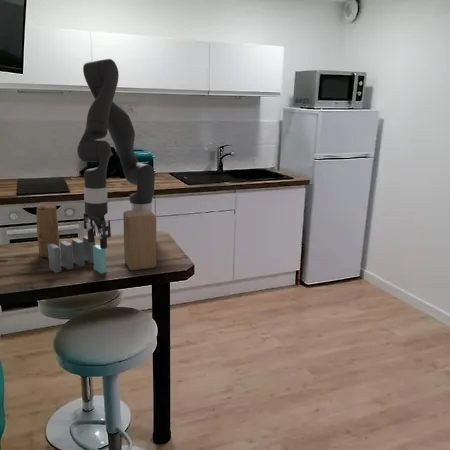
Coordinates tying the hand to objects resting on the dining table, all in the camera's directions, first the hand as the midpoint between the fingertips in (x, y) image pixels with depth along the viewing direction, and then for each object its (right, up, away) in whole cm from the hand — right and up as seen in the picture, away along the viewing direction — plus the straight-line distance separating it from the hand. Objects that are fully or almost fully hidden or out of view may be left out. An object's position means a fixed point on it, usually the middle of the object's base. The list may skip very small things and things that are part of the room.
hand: (97, 245), depth 157 cm
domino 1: (-15, -9, +2) cm, 18 cm away
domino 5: (0, -9, +3) cm, 10 cm away
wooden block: (+13, -8, +10) cm, 18 cm away
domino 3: (-9, -7, +8) cm, 14 cm away
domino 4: (-6, -6, +11) cm, 14 cm away
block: (-23, -4, +16) cm, 29 cm away
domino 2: (-12, -8, +5) cm, 15 cm away
